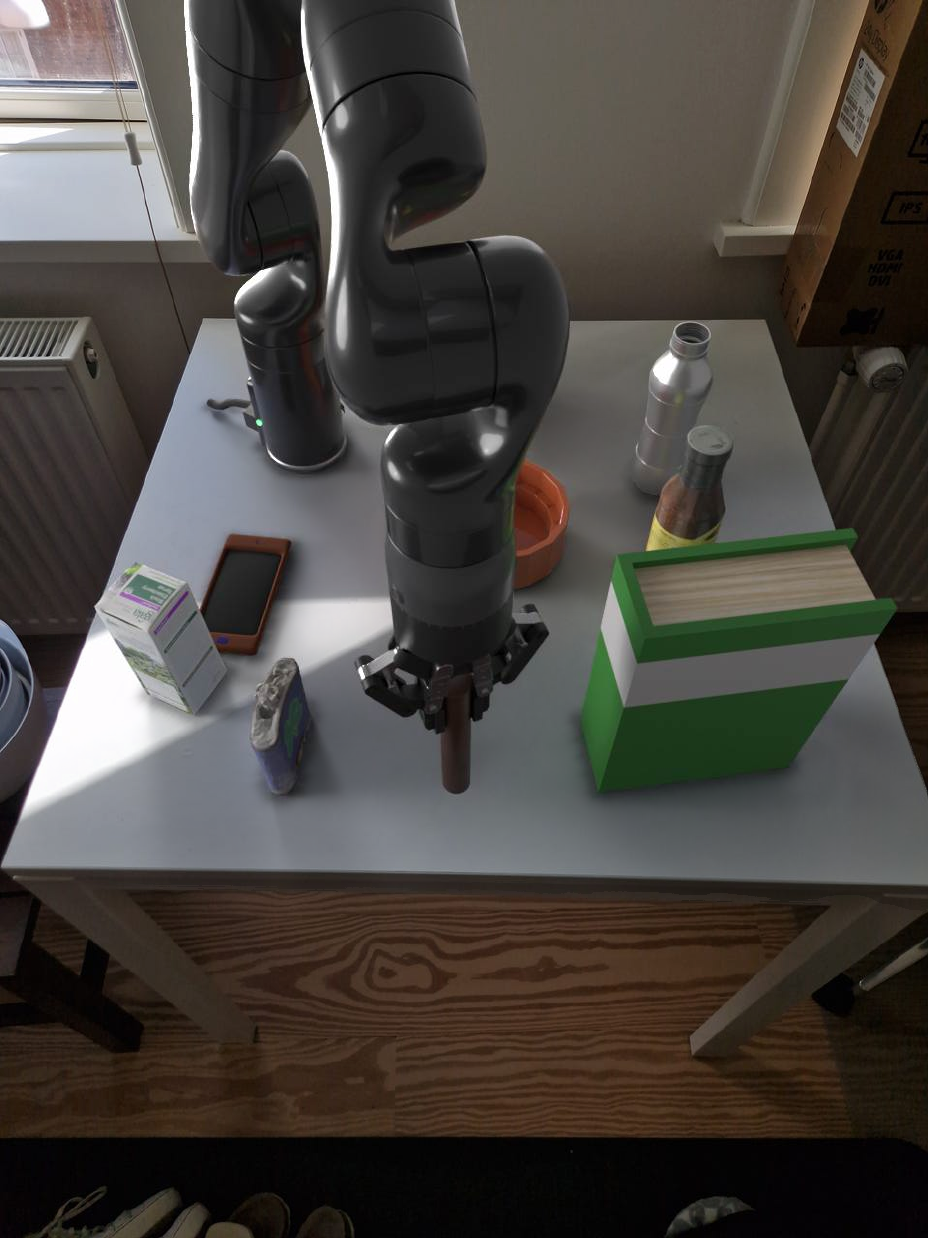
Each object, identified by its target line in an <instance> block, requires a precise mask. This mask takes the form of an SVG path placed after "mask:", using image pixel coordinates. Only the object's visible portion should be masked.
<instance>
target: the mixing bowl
mask: <svg viewBox="0 0 928 1238" xmlns="http://www.w3.org/2000/svg"><path fill="white" fill-rule="evenodd" d="M570 509H571V504H570V500H569V497H568V495H567V492H566V489H565V487H564V485H563V484H562V483H561V482H560V481H559V480H558V479H557V478H556V476H554V475H553V474H552V473H551V472H550V471H549V470H548V469H547V468H544V467H542V466H540V465H538V464H537V463H534V462H532V461H530V460H527V459H525V460H524V462H523V464H522V466H521V469H520V471H519V473H518V476H517V489H516V498H515V513H514V530H515V536H516V554H517V567H516V570H515V580H514V590H516V589H523V588H526V587H528V586H530V585H532V584H534V583H536V582H538V581H540V580H542V579H544V578H545V577H547V576H549V575H550V573H551V572H552V571H553V570H554V568H555V567H556V566H557V565H558V564H559V562H560V561H561V560H562V558H563V554H564V549H565V543H566V537H567V530H568V524H569V518H570V512H571V511H570Z"/></svg>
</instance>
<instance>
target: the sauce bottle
mask: <svg viewBox="0 0 928 1238" xmlns="http://www.w3.org/2000/svg"><path fill="white" fill-rule="evenodd" d="M733 450H734V439H733V437H732V435H731V434H730V433H728V432H727V430H724V429H722V428H721V427H719V426H715V425H699V426H697V427H694V428H693V429H692V430H691V431H690V432H689V433H688V436H687V439H686V442H685V445H684V452H685V455H684V458H683V462H682V465H681V466H680V468H679V473H677V474H676V475H674V476H673V477H672V478H670V480H668V482H667V483H666V484H665V486H664V487H663V490H662V492H661V495H659V499H658V504H657V506H656V509H655V512H654V516H653V519H652V523H651V527H650V532H649V535H648V540H647V544H646V547H645V551H651V550H660V549H669V548H678V547H687V546H696V545H705V544H714V543H717V538H718V535H719V531H720V529H721V526H722V523H723V521H724V517H725V514H726V504H725V497H724V490H723V474H724V472H725V469H726V466H727V462H728V461H729V460H730V459H731V457H732V453H733Z"/></svg>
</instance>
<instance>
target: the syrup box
mask: <svg viewBox="0 0 928 1238" xmlns="http://www.w3.org/2000/svg"><path fill="white" fill-rule="evenodd" d="M94 608H95V612H96V613H97V614H98V616H99V617H100V619H101V621H102V623H103V625H104V626H105V628H106V629H107V631H108V633H109V634H110V636H111V638H112V640H114V643H115V645H116V646H117V647H118V649H119V651H120V652H121V654H122V655H123V657H124V659H125V661H126V662H127V664H128V665H129V667H130V668H131V670H132V672H133V673H134V675H135V676H136V678H137V680H138V681H139V684H141V687H142V688H143V690H144V691H145V693H146V695H148V696H149V697H152V698H154V699H156V700H159V701H161V702H163V703H165V704H167V705H170V706H172V707H174V708H176V709H179V710H181V711H183V712H186V713H188V714H189V715H192V716H194V715H196V714H197V713H198V712H199V710H200V709H201V708H202V706H204V704H205V702H206V701H207V700H208V698H209V697H210V696H211V694H212V693H213V692H214V690H215V689H216V688H217V686H218V685H219V683H220V682H221V681H222V679H224V677H225V675H226V674H227V668H226V666H225V664H224V662H223V659H222V657H221V654H220V653H219V652H218V650H217V648H216V646H215V644H214V641H213V639H212V637H211V635H210V632H209V630H208V628H207V626H206V624H205V621H204V619H203V616H202V614H201V612H200V610H199V609H200V606H199V605H198V603H197V600H196V598H195V596H194V594H193V592H192V590H191V587H190V585H189V583H188V582H186V581H183V580H180V579H179V578H176V577H174V576H171V575H169V574H166V573H164V572H161V571H159V570H157V569H154V568H152V567H150V566H147V565H144V564H142V563H140V562H138V561H133V563H132V564H130V565H129V566H128V568H127V569H125V571H124V572H123V573H121V575H120V576H118V577H117V579H115V581H114V582H113V583H112V584H111V585H110V587H109V588H108V589H107V591H105V593H104V594H103V595H102V596H101V597H100V599H99V600H98V602H97V603H96V604H95V605H94Z"/></svg>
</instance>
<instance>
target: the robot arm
mask: <svg viewBox="0 0 928 1238" xmlns="http://www.w3.org/2000/svg"><path fill="white" fill-rule="evenodd" d="M184 18H185V19H184V20H185V31H186V32H185V33H186V34H185V35H186V49H187V58H188V67H189V68H188V69H189V77H190V87H191V88H190V89H191V102H192V115H193V116H192V117H193V118H192V119H193V120H192V121H193V126H192V127H193V128H192V129H193V131H192V145H191V146H192V147H191V159H190V160H191V161H190V173H189V199H190V201H189V202H190V210H191V217H192V221H193V222H192V223H193V227H194V231H195V234H196V237H197V241H198V243H199V245H200V248H201V249H202V252H203V253H204V255H205V257H206V258H207V260H208V261H209V262H210V263H211V265H212V266H213V267H214V268H215V269H217V270H218V271H219V272H221V273H223V274H225V275H227V276H232V277H241V276H247V275H252V274H255V275H254V276H253V277H251V278H250V279H249V280H248V281H246V282H245V284H243V285H242V287H241V288H239V290H238V292H237V294H236V296H235V297H234V302H233V314H234V317H235V323H236V327H237V329H238V334H239V338H240V341H241V345H242V350H243V354H244V357H245V361H246V365H247V369H248V373H249V378H247V380H246V387H247V391H248V396H249V400H247V399H241V398H226V399H224V400H222V401H216V400H215V399H212V398H209V399H207V401H206V406H207V407H209V408H211V409H213V410H216V411H224V410H227V409H229V408H233V407H234V408H239V409H243V410H242V414H243V419H244V423H245V426H246V427H248V428H249V429H251V430H253V431H256V432H257V433H258V435H259V438H260V442H261V446H262V447H263V448H265V449H266V450H267V453H268V456H269V458H270V460H271V461H272V463H273V464H275V465H276V466H277V467H278V468H280V469H282V470H284V471H287V472H290V473H295V474H310V473H316V472H319V471H323V470H325V469H328V468H330V467H332V466H333V465H334V464H336V463H338V461H339V460H341V459H342V457H344V454H345V453H346V450H347V447H348V439H347V434H346V430H345V425H344V419H343V418H344V417H343V413H344V414H346V409H345V405H346V406H347V407H348V409H349V410H350V411H351V412H353V413H354V414H355V415H356V416H357V417H359V418H360V419H362V420H363V421H364V422H365V421H366V422H367V423H369V424H371V425H375V426H383V427H384V426H395V427H394V428H393V429H392V430H391V431H390V432H389V434H388V435H387V436H386V439H385V441H384V442H383V445H382V448H381V452H380V461H379V469H380V472H379V473H380V483H381V489H382V490H381V491H382V497H383V507H384V515H385V516H384V517H385V526H386V527H385V538H384V539H385V540H384V556H385V557H384V559H385V566H386V568H385V569H386V577H387V585H388V592H389V599H390V600H389V601H390V611H391V618H392V626H393V627H392V628H393V633H392V635H391V637H390V638H389V640H388V642H387V651H385V652H384V653H383V654H381V655H379V656H378V657H376V658H374V657H372V656H371V655H369V654H364V655H360V656H358V657H357V658H355V660H354V661H353V665H354V667H355V669H356V672H357V676H358V679H359V681H360V684H361V686H362V689H363V692H364V694H365V695H366V696H367V697H369V698H371V699H372V700H374V701H375V702H376V703H378V704H380V705H381V706H383V707H385V708H387V710H390V711H391V712H393V713H394V714H396V715H398V716H400V717H401V718H404V719H405V718H411V717H413V716H414V715H415V714H416V713H419V716H420V718H421V721H422V723H423V726H424V728H425V730H426V731H428V732H430V731H432V730H433V731H434V734H435V736H437V735H440V733H443V732H445V713H444V707H443V705H442V701H443V697H446V696H447V692H448V686H449V681H450V679H451V678H454V677H456V676H458V675H462V674H468V675H469V677H470V679H471V683H472V687H471V722H473V723H476V722H478V721H482V720H484V713H487V712H488V711H489V709H490V706H491V704H490V703H491V694H492V693H493V691H494V686H496V685H497V684H499V683H501V684H502V685H504V686H505V685H509V684H512V683H514V681H516V680H517V678H519V676H520V675H521V673H522V672H523V670H524V669H525V668H526V666H527V665H528V664H529V662H530V661H531V660H532V659H533V657H534V656H535V655H536V653H537V652H538V651H539V649H540V648H541V646H542V645H543V644H544V643H545V641H546V640H547V639H548V638H549V636H550V631H549V629H548V627H547V625H546V624H545V622H544V620H543V618H542V616H541V614H540V612H539V611H538V609H537V607H536V605H535V604H534V603H527V604H524V605H523V606H521V608H520V609H519V610H518V612H513V606H514V592H515V591H514V590H515V589H514V580H515V570H516V567H517V554H516V536H515V530H514V513H515V498H516V489H517V476H518V473H519V471H520V469H521V466H522V464H523V462H524V460H526V457H527V455H528V452H529V450H530V447H531V446H532V443H533V441H534V439H535V437H536V435H537V432H538V430H539V427H540V425H541V423H542V421H543V419H544V417H545V415H546V413H547V410H548V408H549V406H550V404H551V402H552V400H553V398H554V396H555V393H556V391H557V387H558V385H559V382H560V379H561V377H562V373H563V370H564V368H565V367H564V366H565V363H566V358H567V353H568V347H569V343H570V342H569V341H570V331H571V330H570V329H571V310H570V300H569V296H568V292H567V287H566V285H565V281H564V278H563V277H562V274H561V272H560V271H559V268H558V266H557V264H556V263H555V262H554V260H553V258H552V257H551V256H550V255H549V254H548V252H547V251H546V250H545V249H543V247H542V246H540V245H539V244H537V243H536V242H534V241H533V240H531V239H529V238H526V237H523V236H519V235H510V234H509V235H506V234H505V235H503V234H502V235H501V234H500V235H494V236H487V237H486V236H485V237H479V238H472V239H466V240H464V241H463V240H457V241H452V242H451V241H450V242H445V243H438V244H437V243H436V244H430V245H424V246H423V245H422V246H416V247H410V248H405V249H392V246H393V245H394V244H395V242H397V240H399V239H400V238H402V237H403V236H405V235H406V234H408V233H410V232H412V231H414V230H416V229H419V228H421V227H423V226H427V225H429V224H431V223H433V222H436V221H437V220H439V219H441V218H444V217H445V216H448V215H450V214H451V213H454V212H455V211H456V210H459V208H461V207H462V206H463V205H465V204H466V203H467V202H468V201H470V200H471V199H472V197H473V196H474V195H475V194H476V193H477V191H478V190H479V189H480V187H481V185H482V183H483V181H484V178H485V175H486V172H487V171H486V170H487V165H488V153H487V152H488V151H487V142H486V136H485V132H484V127H483V122H482V117H481V112H480V109H479V108H480V107H479V105H478V103H479V102H478V99H477V95H476V91H475V87H474V81H473V77H472V73H471V72H472V71H471V68H470V65H469V64H470V63H469V59H468V55H467V52H466V51H467V50H466V47H465V42H464V38H463V34H462V33H463V32H462V29H461V25H460V21H459V17H458V11H457V7H456V2H455V0H184ZM312 106H313V108H314V111H315V117H316V121H317V127H318V131H319V135H320V140H321V144H322V148H323V154H324V159H325V165H326V171H327V178H328V187H329V188H328V189H329V198H330V218H331V219H330V220H331V222H330V223H331V225H330V227H331V231H330V249H329V250H330V252H329V264H328V275H327V283H326V275H325V266H324V265H325V264H324V255H323V241H322V231H321V222H320V214H319V208H318V202H317V198H316V194H315V191H314V188H313V184H312V182H311V179H310V176H309V174H308V172H307V170H306V168H305V167H304V165H303V163H302V162H301V161H300V160H299V158H298V157H297V156H296V155H295V154H293V153H292V152H291V151H288V150H284V149H283V148H284V146H285V145H286V144H287V143H288V141H289V140H290V139H291V138H292V137H293V135H294V134H295V133H296V132H297V130H298V128H299V127H300V126H301V124H303V121H304V120H305V119H306V117H307V115H308V114H309V112H310V110H311V108H312ZM341 401H342V402H343V403H344V404H345V405H344V404H343V403H342V402H341ZM509 654H510V659H509V657H508V655H509ZM397 669H398V670H400V671H403V672H405V673H407V674H409V675H411V676H414V682H413V683H409V684H407V681H406V680H405V679H404V678H402V677H401V676H400V675H398V674H397V673H396V670H397Z"/></svg>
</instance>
